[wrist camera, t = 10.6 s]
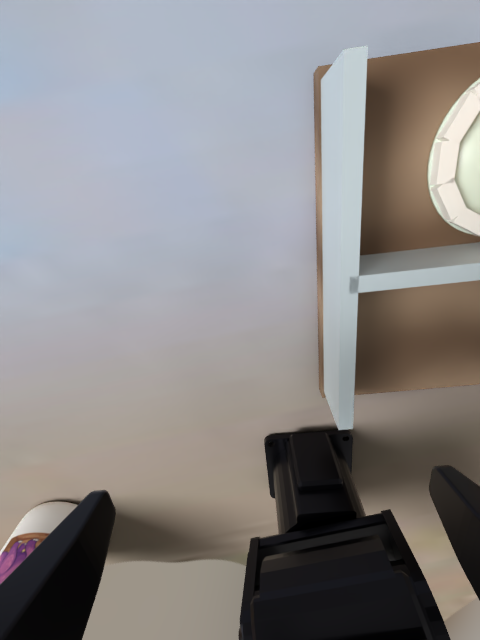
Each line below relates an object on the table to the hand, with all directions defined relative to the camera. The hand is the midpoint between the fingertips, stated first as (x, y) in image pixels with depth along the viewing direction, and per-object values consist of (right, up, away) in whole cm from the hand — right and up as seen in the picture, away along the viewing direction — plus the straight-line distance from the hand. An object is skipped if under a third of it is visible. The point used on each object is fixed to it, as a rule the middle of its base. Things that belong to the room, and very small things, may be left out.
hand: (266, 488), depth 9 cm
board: (+13, +9, +9) cm, 18 cm away
